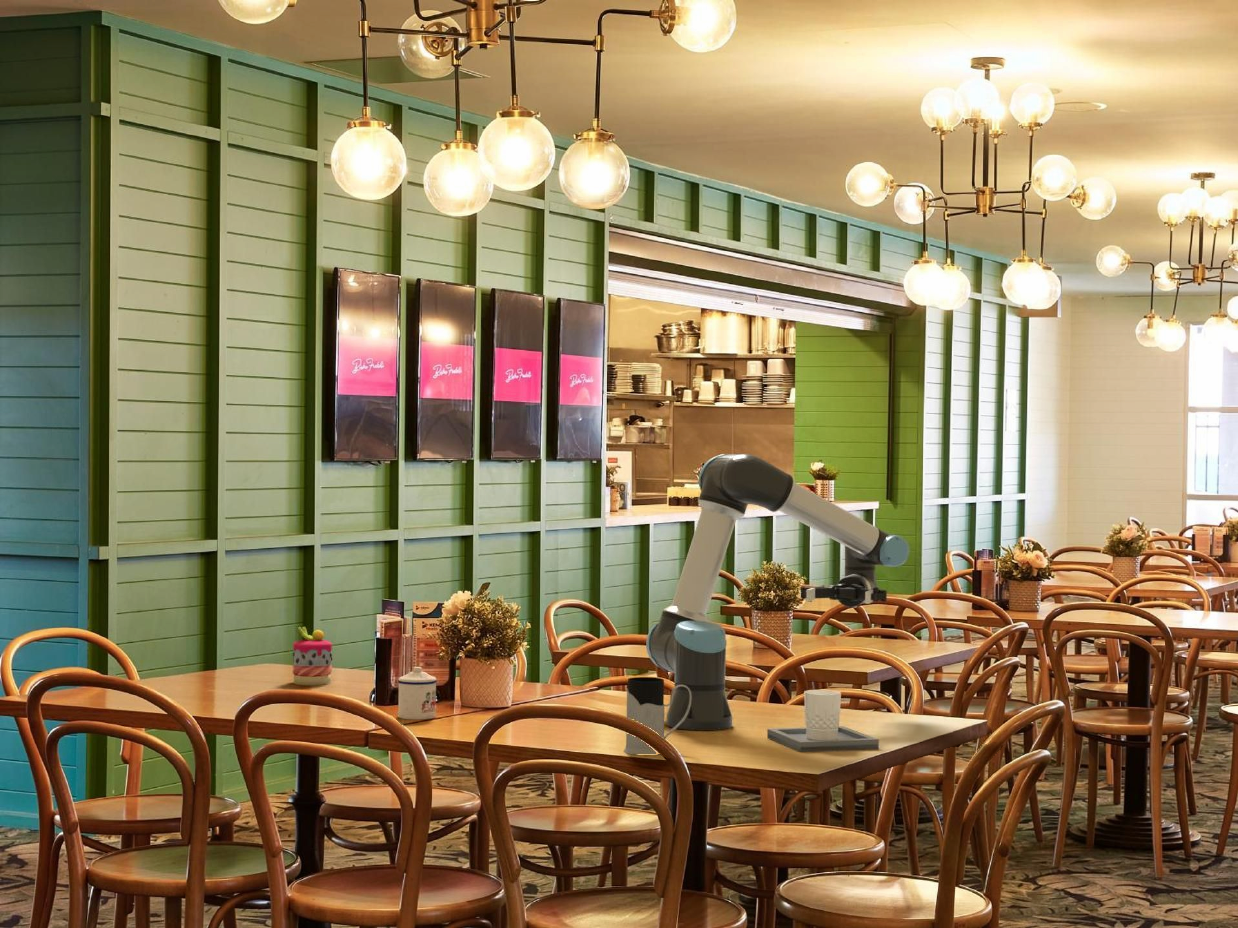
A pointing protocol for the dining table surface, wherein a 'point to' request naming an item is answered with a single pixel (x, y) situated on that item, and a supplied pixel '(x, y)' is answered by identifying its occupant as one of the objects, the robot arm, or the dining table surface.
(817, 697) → the white cup
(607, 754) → the dining table surface
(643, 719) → the glass holder
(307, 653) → the cake
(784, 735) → the serving tray
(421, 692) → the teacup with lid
